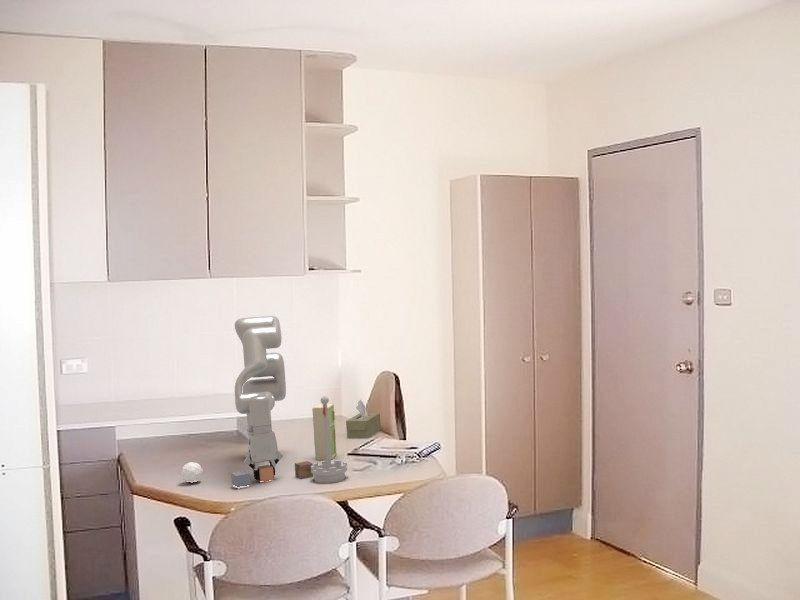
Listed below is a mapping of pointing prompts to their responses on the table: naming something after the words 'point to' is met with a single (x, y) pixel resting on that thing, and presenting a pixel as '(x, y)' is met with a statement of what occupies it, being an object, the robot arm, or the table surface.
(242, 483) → the slate-grey block
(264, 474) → the terracotta block
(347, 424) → the tissue box
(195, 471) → the geometric ball
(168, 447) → the table surface
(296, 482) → the table surface
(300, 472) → the walnut block
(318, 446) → the green and beige carton
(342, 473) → the flag stand
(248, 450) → the robot arm
